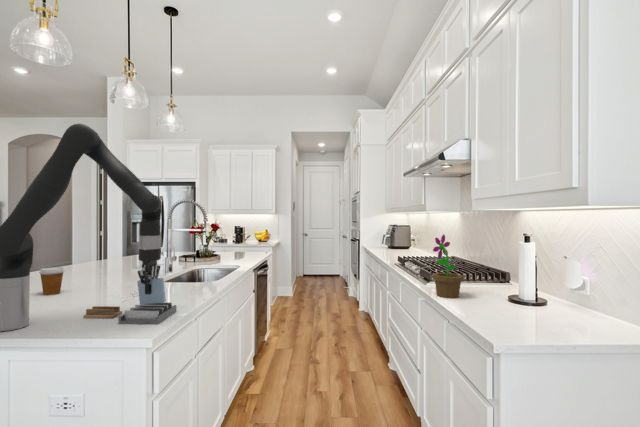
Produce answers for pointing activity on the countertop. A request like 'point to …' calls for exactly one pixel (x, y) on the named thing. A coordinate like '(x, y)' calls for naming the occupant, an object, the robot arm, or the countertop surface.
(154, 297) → the plate
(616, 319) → the countertop surface
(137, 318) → the dish rack
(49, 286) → the disposable coffee cup
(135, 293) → the scissors
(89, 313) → the plate stand
